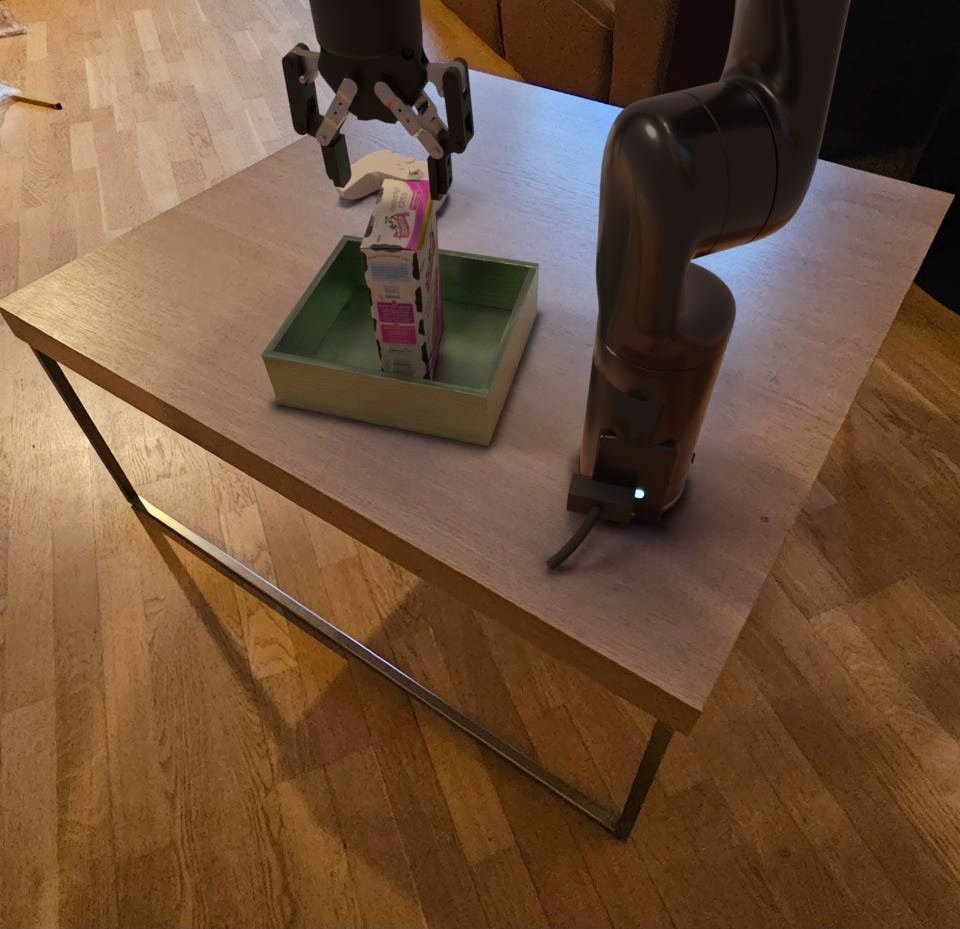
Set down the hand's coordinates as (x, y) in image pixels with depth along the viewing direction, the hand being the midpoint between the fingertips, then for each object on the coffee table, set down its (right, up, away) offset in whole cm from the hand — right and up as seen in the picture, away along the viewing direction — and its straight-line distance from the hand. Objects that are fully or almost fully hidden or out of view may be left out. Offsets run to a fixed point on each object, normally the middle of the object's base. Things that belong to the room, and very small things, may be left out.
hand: (390, 189), depth 60 cm
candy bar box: (+1, -12, +14) cm, 19 cm away
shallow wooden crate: (+1, -12, +15) cm, 19 cm away
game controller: (-3, +11, +34) cm, 36 cm away
